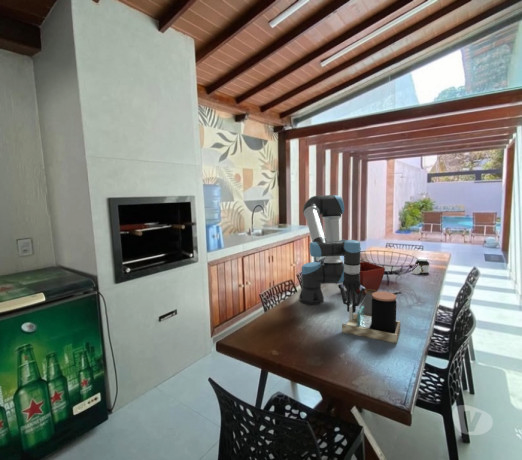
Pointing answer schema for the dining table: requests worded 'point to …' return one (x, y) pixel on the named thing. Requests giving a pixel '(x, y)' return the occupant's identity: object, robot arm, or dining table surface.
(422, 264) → the spread jar
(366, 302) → the coffee pot
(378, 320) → the coffee jar
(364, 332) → the channel
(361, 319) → the teal piece
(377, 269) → the plant pot
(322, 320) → the dining table surface
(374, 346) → the dining table surface
